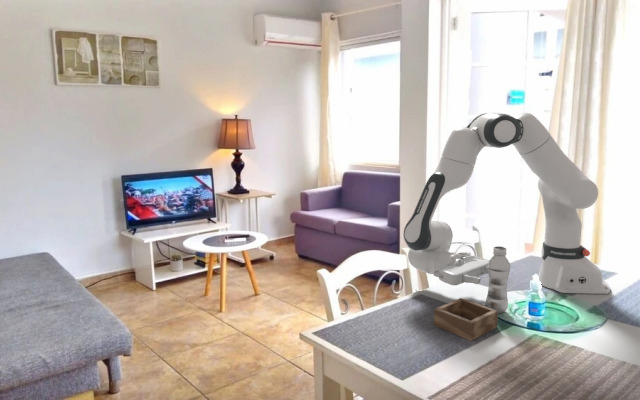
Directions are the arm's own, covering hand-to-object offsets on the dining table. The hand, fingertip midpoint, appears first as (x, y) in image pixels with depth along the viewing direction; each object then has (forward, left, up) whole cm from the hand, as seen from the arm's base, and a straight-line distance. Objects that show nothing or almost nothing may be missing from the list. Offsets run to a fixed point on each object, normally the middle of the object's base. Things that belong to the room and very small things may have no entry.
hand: (488, 277), depth 152 cm
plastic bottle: (-3, +2, -10) cm, 11 cm away
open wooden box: (+6, +15, -10) cm, 19 cm away
